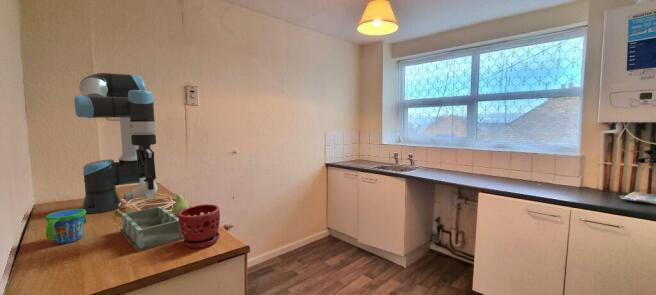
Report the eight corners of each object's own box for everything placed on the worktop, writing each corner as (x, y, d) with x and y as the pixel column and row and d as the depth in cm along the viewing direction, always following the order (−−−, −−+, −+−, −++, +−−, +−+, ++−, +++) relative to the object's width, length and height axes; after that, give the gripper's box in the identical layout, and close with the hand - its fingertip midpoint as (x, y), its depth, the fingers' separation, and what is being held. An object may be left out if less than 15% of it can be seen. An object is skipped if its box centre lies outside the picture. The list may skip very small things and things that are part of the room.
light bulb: (121, 189, 98) (155, 176, 106) (117, 190, 103) (150, 177, 110) (130, 207, 99) (163, 192, 107) (126, 206, 104) (157, 192, 112)
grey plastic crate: (120, 231, 112) (118, 214, 111) (163, 221, 123) (162, 205, 122) (137, 252, 94) (135, 231, 94) (185, 238, 105) (184, 219, 104)
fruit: (191, 217, 128) (189, 190, 127) (172, 220, 124) (170, 193, 123) (188, 213, 134) (187, 187, 133) (170, 216, 130) (168, 189, 128)
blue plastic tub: (73, 231, 112) (70, 206, 111) (100, 231, 112) (98, 206, 111) (32, 250, 97) (29, 220, 96) (64, 249, 97) (61, 220, 96)
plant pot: (203, 232, 111) (202, 202, 109) (228, 239, 105) (227, 206, 103) (171, 246, 99) (169, 212, 98) (197, 254, 93) (195, 218, 92)
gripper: (124, 133, 108) (129, 193, 111) (138, 135, 95) (143, 203, 97) (147, 132, 114) (151, 190, 116) (163, 134, 100) (167, 199, 103)
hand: (148, 196), depth 107 cm, fingers closed on light bulb, 6 cm apart
